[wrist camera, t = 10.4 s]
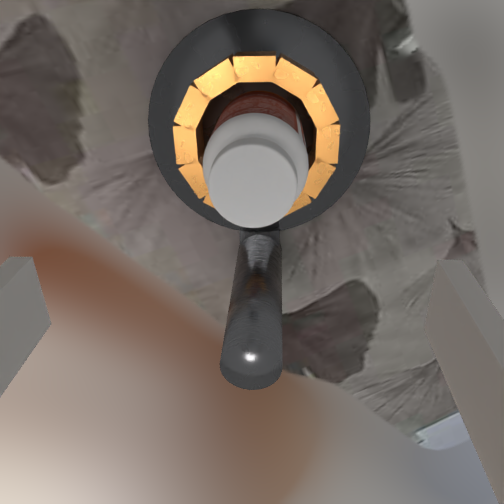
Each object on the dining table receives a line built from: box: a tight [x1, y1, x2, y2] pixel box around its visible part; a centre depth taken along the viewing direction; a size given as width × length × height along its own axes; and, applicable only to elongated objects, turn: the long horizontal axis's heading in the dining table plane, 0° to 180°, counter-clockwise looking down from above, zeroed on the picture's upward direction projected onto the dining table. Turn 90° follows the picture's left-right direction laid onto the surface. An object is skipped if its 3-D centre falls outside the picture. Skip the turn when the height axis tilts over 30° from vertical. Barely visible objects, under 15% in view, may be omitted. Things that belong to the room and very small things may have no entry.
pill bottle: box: [203, 90, 309, 228], centre depth 29 cm, size 6×6×11 cm
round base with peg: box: [148, 9, 370, 390], centre depth 29 cm, size 20×16×14 cm
